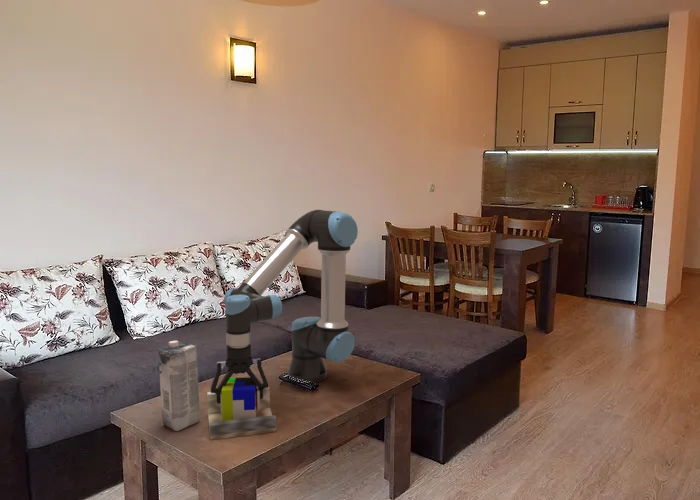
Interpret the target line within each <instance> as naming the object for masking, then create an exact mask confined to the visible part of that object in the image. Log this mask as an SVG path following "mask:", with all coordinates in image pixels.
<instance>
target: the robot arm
mask: <svg viewBox="0 0 700 500" xmlns="http://www.w3.org/2000/svg"><path fill="white" fill-rule="evenodd" d="M285 233H286V234H285V236H284V237H283V238H282V239H281V240H280V242H278V243H277V245H275V247H274V248H273V249H272V250H271V251H270V253H268V255H267V256H265V258H264V259H263V260H262V261H261V262H260V263H259V264H258V265H257V267H256V268H255V269H254V270H253V271H252V272H251V273H250V274H249V276H248V277H246V279H245V280H244V281H243V282H242V283H241V284H240V285H239V286H238V287H237V288H229V290H227V291H226V292H225V294H224V297H223V303H224V305H225V306H224V307H225V308H224V313H225V334H226V336H225V338H226V339H225V340H226V341H225V342H226V360H224V361H220V360H217V361H216V370H215V373H214V376H213V379H212V382H211V386H210V392H211V393H216V394H217V403H218V404H221V414H222V387H223V386H225V385H226V384H227V382H228V380H229V379H230V378H232V377H233V375H239V374H245V373H246V374H247V375H248V376H249V377H251V379H252V380H253V381H254V383H255V384H256V385H257V387H258V388H256V399H257V410H260V399H263V389H264V388H268V387H269V388H270V385H269V383H268V379H267V378H266V375H265V372H264V370H263V367H262V358H261V357H259V356H258V357H257V358H252V345H251V342H252V339H251V338H252V336H251V334H252V333H251V332H252V331H251V327H252V326H251V324H255V323H260V322H265V321H269V320H273V319H275V318H278V317H280V315H281V314H282V312H283V303H282V300H281V298H280V297H279V296H277V294H276V295H275V294H268V295H265V296H264V295H263V294H264V292H265V291H266V290H267V289H268V288H269V287H270V286H271V285H272V284H273V282H274V281H275V280H276V279H277V277H279V276H280V275H281V273H282V272H283V271H284V270H285V269H286V267H287V266H288V265H289V264H290V263H291V262H292V261H293V260H294V258H295V257H296V256H297V255H298V254H299V253H300V252H301V251H302V250H304V249H307V248H309V246H310V245H311V244H312V243H315V242H316V243H317V250H318V251H319V252H320V254H321V285H320V286H321V289H320V294H321V296H320V297H321V298H320V316H304V317H300V318H296V319H294V320H293V321H292V323H291V330H290V331H291V360H290V363H289V365H288V369H287V376H288V375H289V376H291V377H294V378H298V379H304V380H307V381H311V382H315V383H314V384H316V383H320V382H323V381H324V380H326V379H327V378H328V370H327V366H326V364H325V360H327V361H330V362H334V363H342V362H344V361H346V360H347V359H348V358H349V357H350V356H351V354H352V353H353V351H354V348H355V337H354V335H353V334H352V332H350V331H349V322H348V321H347V320H346V318H345V313H346V312H345V311H346V310H345V307H346V272H347V271H346V270H347V269H346V267H347V266H346V265H347V254H348V253H349V252H350V251H351V246H352V245H353V244H355V242H356V240H357V237H358V233H359V232H358V225H357V222H356V220H355V219H354V218H353V217H352V216H351V215H350V214H349V213H347V212H346V213H345V212H341V211H337V210H336V211H335V210H323V209H314V210H311V211H308V212H306V213H305V214H303V215H302V216H300V217H299V218H298V219H296V220H295V221H294V222H293V223H292V224H291V225H290V226H289V227H288V228H287V230H286V232H285ZM324 359H325V360H324ZM253 364H254V365H255V367H257V370H258V372H259V375H260V378H261V379H262V383H261V381H260V380H259V378H258V377H257V376H256V374H255V373H254V372H253V370H252V369H251V366H252V365H253ZM225 366H226V367H227V368H228V369H227V370H226V371H227V372H226V373H225V375H224V377H223V378H222V380H221V382H220V383H219V379H220V377H221V374H222V373H221V372H222V370H223V369H224V368H225ZM218 383H219V385H218Z"/></svg>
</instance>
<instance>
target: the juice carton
mask: <svg viewBox="0 0 700 500" xmlns="http://www.w3.org/2000/svg"><path fill="white" fill-rule="evenodd" d="M157 350H158V368H159V370H158V371H159V385H160V386H159V387H160V388H159V389H160V403H161V418H162V423H163V425H164V426H165V427H167V428H170V429H171V430H174V431H176V432H180V431H181V430H184V429H185V428H187V427H190V426H193V425H195V424H197V423H199V422H200V395H199V394H200V391H199V390H200V389H199V372H198V371H199V365H198V346H197V345H194V344H191V343H189V342H185V341H178V340H171V341H168V346H162V347H159V348H158V349H157Z"/></svg>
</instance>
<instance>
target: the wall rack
mask: <svg viewBox="0 0 700 500" xmlns="http://www.w3.org/2000/svg"><path fill="white" fill-rule="evenodd" d="M257 388H258V387H257ZM206 394H207V415H208V430H209V431H208V432H209V440H219V439H225V438H226V439H227V438H235V437H242V436H251V435H261V434H266V433H275V432H277V416H276V415H275V414H272V410H271V405H270V404H271V401H270V400H271V397H270V396H271V395H270V386H269V387H268V388H264V389H263V399H260V410H256V417H255V418H246V419H238V420H229V421H222V414H221V404H218V403H217V394H216V393H211V391H207V393H206Z"/></svg>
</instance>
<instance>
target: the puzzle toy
mask: <svg viewBox="0 0 700 500" xmlns="http://www.w3.org/2000/svg"><path fill="white" fill-rule="evenodd" d="M256 388H257V385H256V384H255V383H254V381H253V380H252V379H251V377H250V376H249V377H230V379H229V380H228V382H227V384H226V385H225V386H223V387H222V421H229V420H238V419H246V418H255V417H256V410H257V399H256Z"/></svg>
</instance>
